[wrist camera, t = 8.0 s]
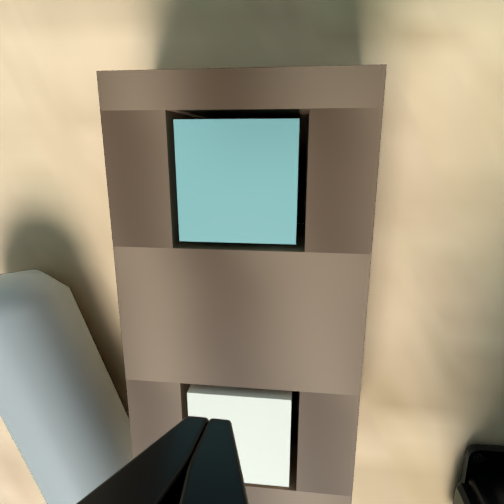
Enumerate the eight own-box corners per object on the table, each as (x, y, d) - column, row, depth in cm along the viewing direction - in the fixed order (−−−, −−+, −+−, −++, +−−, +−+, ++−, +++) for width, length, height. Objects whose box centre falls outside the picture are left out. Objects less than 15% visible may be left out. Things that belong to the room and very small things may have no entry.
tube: (-93, 307, 18) (124, 702, 23) (-32, 290, 15) (198, 741, 20) (17, 264, 22) (178, 602, 27) (79, 245, 20) (244, 623, 25)
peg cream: (294, 337, 20) (291, 400, 15) (291, 407, 21) (288, 486, 16) (214, 333, 20) (187, 392, 15) (216, 402, 21) (191, 477, 17)
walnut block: (362, 86, 17) (386, 64, 12) (339, 434, 21) (350, 520, 16) (152, 90, 18) (96, 71, 13) (172, 421, 22) (136, 498, 17)
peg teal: (300, 125, 17) (299, 118, 12) (297, 217, 18) (296, 244, 13) (208, 125, 18) (173, 119, 13) (210, 215, 19) (179, 241, 14)
